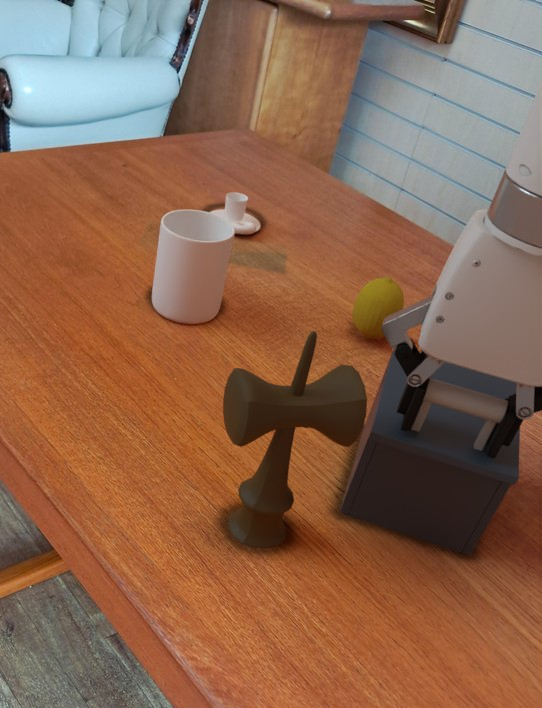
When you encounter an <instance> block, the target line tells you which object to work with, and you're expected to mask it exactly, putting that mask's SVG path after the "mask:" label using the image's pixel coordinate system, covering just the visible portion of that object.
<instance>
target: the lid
mask: <svg viewBox="0 0 542 708" xmlns="http://www.w3.org/2000/svg"><path fill="white" fill-rule="evenodd" d="M390 357H391V358H390ZM390 357H389V359H390V362H389V361H388V362H389V365H388V364H387V365H388V369H387V373H386V376H385V380H384V384H383V387H382V391H381V394H380V398H379V402H378V405H377V409H376V413H375V416H374V420H373V424H372V427H371V431H370V434H369V438H368V439H369V440H372V441H375V442H378V443H382V444H385V445H388V446H391V447H394V448H398V449H401V450H404V451H407V452H410V453H413V454H417V455H420V456H423V457H426V458H429V459H433V460H436V461H439V462H442V463H445V464H449V465H452V466H455V467H458V468H461V469H465V470H468V471H471V472H474V473H477V474H480V475H484V476H487V477H490V478H493V479H496V480H500V481H503V482H506V483H509V484H511V486H512V485H513V486H515V485H516V484H517V482H518V480H519V479H520V478H519V477H520V443H521V439H520V437H521V426H520V427H519V429H518V431H517V433H516V435H515V437H514V438H513V440H512V442H511V444H510V445H509V446H505V445H502V446H501V448H500V450H499V452H498V454H497V455H496V457H495V458H491V457H488V456H487V454H486V442H487V440H488V438H489V436H490V434H491V432H492V430H493V429H494V427H495V425H496V423H500V422H501V421H502V419H503V417H504V415H505V412H506V410H507V406H508V401H507V400H505V399H506V398H509V396H510V395H511V396H512V395H513V394H516V383H515V382H512V381H508V380H505V379H501V378H498V377H494V376H491V375H487V374H484V373H480V372H477V371H474V370H470V369H467V368H463V367H460V366H457V365H453V364H450V363H447V362H445V363H444V364H443V365H442V366H441V367H440V368H439V369H437V370H436V371H435V372H434V373H433V374H432V375H431V376H430V377H429V379H428V385H427V391H426V394H425V397H424V399H423V401H422V404H421V406H420V408H419V411H418V413H417V415H416V418H415V420H414V422H413V425H412V427H411V429H410V431H409V430H407V431H403V430H400V429H401V424H402V420H403V416H404V415H403V414H400V413H397V408H398V405H399V402H400V399H401V397H402V394H403V392H404V389H405V387H406V384H407V376H406V374H405V372H404V371H403V369H402V367H401V365H400V364H399V362H398V360H397V359H396V357H395V352H394V350H393V349H392V351H391V355H390Z"/></svg>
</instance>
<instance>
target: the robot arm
mask: <svg viewBox="0 0 542 708" xmlns="http://www.w3.org/2000/svg"><path fill="white" fill-rule="evenodd" d="M419 325H421V329H420V334H419V337H418V347H419V349H420V350H419V349H418V347H417V345H416V343H415V342H414V340H413V338H411V337H410V336H409V333H408V330H411V329H413V328H415V327H418V326H419ZM381 330H382V333H383V334H384V336H383V337H384V338H385V339H386V341H387V343H388V344H389V347H390V348H392V351H393V350H394V352H395V357H396V359H397V360H398V362H399V364H400V365H401V367H402V369H403V371H404V372H405V374H406V376H407V384H406V387H405V389H404V392H403V394H402V397H401V399H400V402H399V405H398V408H397V413H400V414H403V415H404V416H403V420H402V424H401V429H400V430H403V431H407V430H409V431H410V429H411V427H412V425H413V422H414V420H415V418H416V415H417V413H418V411H419V408H420V406H421V404H422V401H423V399H424V397H425V394H426V391H427V385H428V379H429V377H430V376H431V375H432V374H433V373H434V372H435V371H436V370H437V369H439V368H440V367H441V366H442V365H443V364H444V363H445V362H447V363H450V364H453V365H457V366H460V367H463V368H467V369H470V370H474V371H477V372H480V373H484V374H487V375H491V376H494V377H498V378H501V379H505V380H508V381H512V382H515V383H516V394H513V395H512V396H511V395H510V396H509V398H506V399H505V400H507V401H508V406H507V410H506V412H505V415H504V417H503V419H502V421H501V422H500V423H496V425H495V427H494V429H493V430H492V432H491V434H490V436H489V438H488V440H487V442H486V454H487V456H488V457H491V458H495V457H496V455H497V454H498V452H499V450H500V448H501V446H502V445H505V446H509V445H510V444H511V442H512V440H513V438H514V437H515V435H516V433H517V431H518V429H519V427H520V428H521V426H522V423H523V422H524V420H528V419H531V418H532V417H533V416H534V414H536V413H538V412H541V411H542V80H541V82H540V84H539V85H538V89H537V91H536V94H535V96H534V99H533V101H532V103H531V106H530V108H529V111H528V113H527V115H526V118H525V121H524V123H523V125H522V127H521V129H520V132H519V135H518V138H517V140H516V142H515V144H514V147H513V150H512V152H511V154H510V157H509V159H508V162H507V164H506V166H505V169H504V170H503V173H502V175H501V178H500V180H499V183H498V185H497V188H496V190H495V192H494V196H493V197H492V200H491V202H490V205H489V207H488V208H480V209H477V210H475V211H474V213H473V214H472V216H471V217H470V218H469V220H468V221H467V223H466V225H465V226H464V228H463V230H462V232H461V233H460V235H459V237H458V239H457V240H456V242H455V244H454V246H453V248H452V250H451V252H450V253H449V256H448V258H447V260H446V263H445V264H444V266H443V268H442V270H441V273H440V274H439V277H438V280H437V281H436V283H435V286H434V288H433V291H432V293H431V295H430V296H427V297H425V298H423V299H421V300H419V301H416V302H415V303H413V304H410V305H408V306H406V307H403V309H402V310H400V311H397V312H395V313H393V314H391V315H389V316H387V317H386V318H385V319H384V321H383V324H382V328H381Z"/></svg>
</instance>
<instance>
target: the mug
mask: <svg viewBox="0 0 542 708" xmlns="http://www.w3.org/2000/svg"><path fill="white" fill-rule="evenodd" d="M209 212H210V211H209ZM209 212H208V211H205V210H200V209H188V208H187V209H175V210H171V211H169V212H167V213H165V214H164V215H163V216H162V217H161V220H160V226H159V234H158V242H157V249H156V250H157V251H156V257H155V265H154V266H155V267H154V275H153V281H152V288H151V289H152V290H151V304H152V306H153V308H154V310H155V311H156V312H157V313H158V314H159V315H160V316H162V317H163V318H165V319H167V320H169V321H172V322H175V323H179V324H183V325H184V324H185V325H200V324H204V323H207V322H209V321H211V320H213V319H214V318H216V317H217V315H218V314H219V311H220V309H221V305H222V301H223V297H224V291H225V285H226V281H227V275H228V270H229V265H230V261H231V254H232V250H233V249H232V248H233V244H234V239H235V229H234V227H233V225H232V224H231V223H230V222H229V221H227V220H226V219H224V218H222V217H220V216H218V215H215V214H212V213H209Z"/></svg>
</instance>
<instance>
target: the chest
mask: <svg viewBox="0 0 542 708" xmlns="http://www.w3.org/2000/svg"><path fill="white" fill-rule="evenodd" d="M390 358H391V356H390V357H389V360H388V362H387V365H386V368H385V370H384V373H383V376H382V378H381V381H380V383H379V386H378V389H377V392H376V394H375V397H374V399H373V402H372V405H371V408H370V410H369V413H368V415H367V419H366V420H365V422H364V425H363V429H362V431H361V436H360V439H359V443H358V445H357V449H356V454H355V457H354V460H353V463H352V467H351V471H350V474H349V477H348V481H347V485H346V488H345V491H344V495H343V499H342V502H341V505H340V509H339V513H340V514H342V515H346V516H349V517H352V518H355V519H357V520H361V521H363V522H366V523H370V524H373V525H375V526H378V527H381V528H385V529H387V530H391V531H394V532H397V533H399V534H403V535H406V536H409V537H412V538H414V539H418V540H421V541H424V542H427V543H430V544H433V545H436V546H438V547H442V548H444V549H447V550H451V551H454V552H456V553H460V554H463V555H465V556H469V557H470V556H472V555H473V552H474V551H475V549H476V548H477V545H478V544H479V542H480V541H481V539H482V537H483V535H484V533H485V532H486V530H487V528H488V526H489V525H490V523H491V522H492V519H493V517H494V515H495V514H496V512H497V511H498V509H499V507H500V505H501V503H502V501H503V500H504V498H505V497H506V495H507V493H508V491H509V489H510V488H511V486H512V484H509V483H506V482H503V481H500V480H496V479H493V478H490V477H487V476H484V475H480V474H477V473H474V472H471V471H468V470H465V469H461V468H458V467H455V466H452V465H449V464H445V463H442V462H439V461H436V460H433V459H429V458H426V457H423V456H420V455H417V454H413V453H410V452H407V451H404V450H401V449H398V448H394V447H391V446H388V445H385V444H382V443H378V442H375V441H372V440H369V439H368V438H369V434H370V431H371V427H372V424H373V420H374V416H375V413H376V409H377V405H378V402H379V398H380V394H381V391H382V387H383V384H384V380H385V376H386V373H387V369H388V365H389V362H390Z"/></svg>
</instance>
